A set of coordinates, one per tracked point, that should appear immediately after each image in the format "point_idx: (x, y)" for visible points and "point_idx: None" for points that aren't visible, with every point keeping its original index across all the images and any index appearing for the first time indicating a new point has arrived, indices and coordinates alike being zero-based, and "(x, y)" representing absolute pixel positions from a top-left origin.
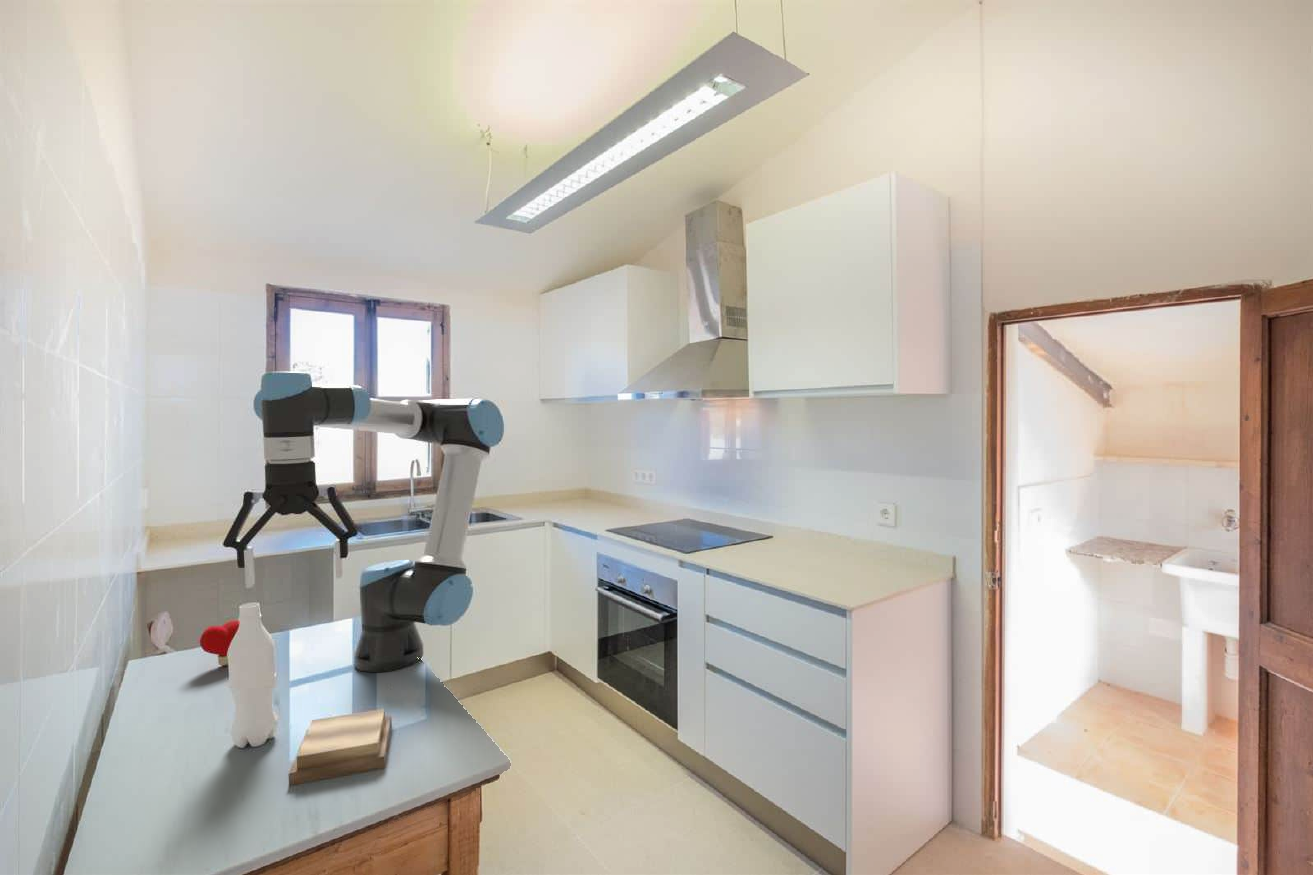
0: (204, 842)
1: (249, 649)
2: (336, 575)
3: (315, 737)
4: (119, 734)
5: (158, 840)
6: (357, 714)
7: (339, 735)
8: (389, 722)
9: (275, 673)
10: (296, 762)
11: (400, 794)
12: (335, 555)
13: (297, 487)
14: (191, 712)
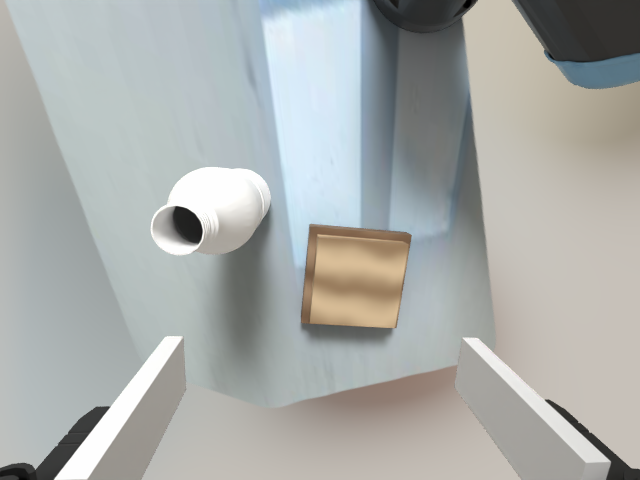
0: (242, 375)
1: (216, 253)
2: (461, 395)
3: (326, 287)
4: (41, 84)
5: (200, 358)
6: (374, 246)
7: (353, 293)
8: (407, 253)
9: (262, 200)
10: (306, 303)
11: (402, 370)
12: (511, 463)
13: None
14: (123, 49)
